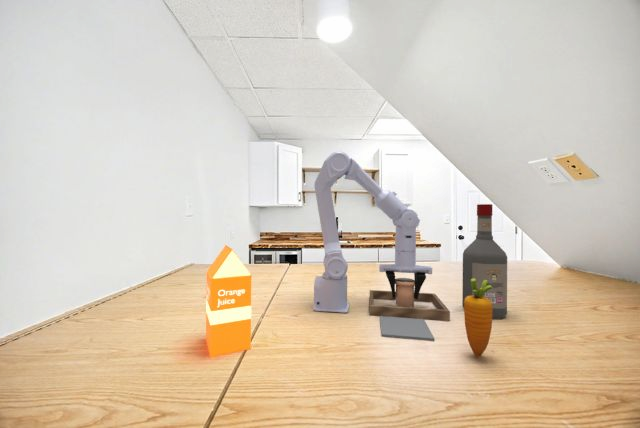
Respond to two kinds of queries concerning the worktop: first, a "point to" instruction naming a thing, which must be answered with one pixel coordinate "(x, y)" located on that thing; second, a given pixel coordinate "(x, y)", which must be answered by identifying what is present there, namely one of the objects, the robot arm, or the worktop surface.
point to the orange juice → (228, 305)
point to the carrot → (478, 318)
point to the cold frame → (409, 312)
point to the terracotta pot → (405, 292)
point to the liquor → (486, 264)
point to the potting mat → (405, 328)
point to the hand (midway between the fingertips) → (404, 297)
